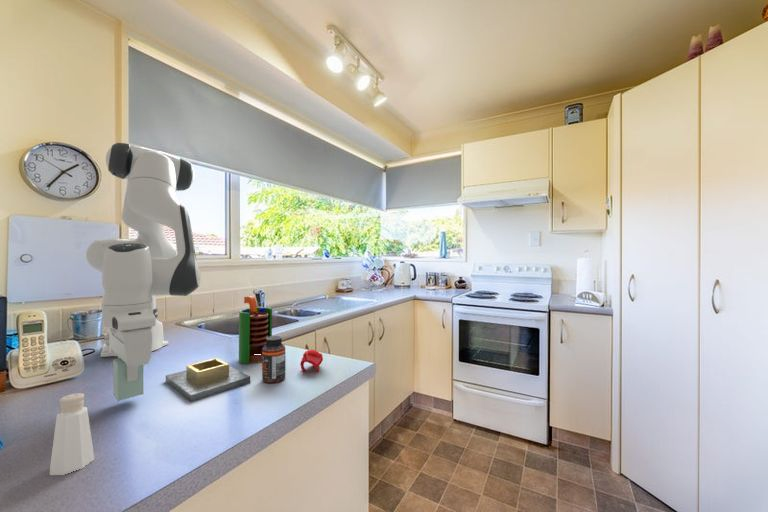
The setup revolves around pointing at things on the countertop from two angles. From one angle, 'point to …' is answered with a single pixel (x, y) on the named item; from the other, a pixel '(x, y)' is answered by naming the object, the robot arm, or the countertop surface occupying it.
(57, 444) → the salt shaker
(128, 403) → the countertop surface
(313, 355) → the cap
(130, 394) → the pale green flat box
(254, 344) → the motor
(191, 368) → the mounting plate
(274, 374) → the supplement bottle
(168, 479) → the countertop surface
